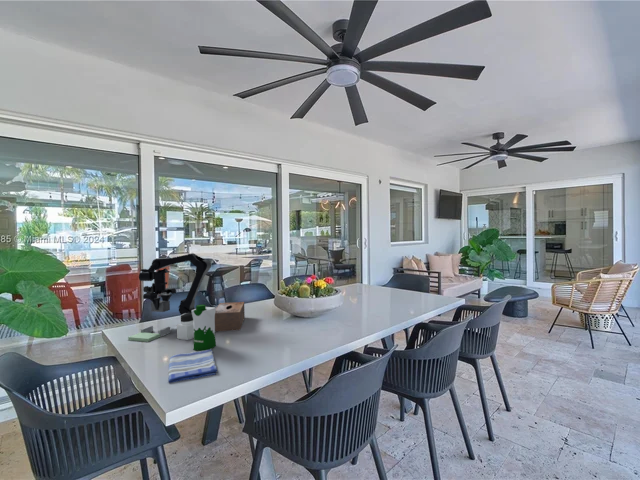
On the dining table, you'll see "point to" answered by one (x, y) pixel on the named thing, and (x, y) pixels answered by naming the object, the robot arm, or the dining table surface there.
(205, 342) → the milk carton
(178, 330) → the medicine bottle
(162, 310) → the gray cuboid pillar
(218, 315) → the tissue box cover
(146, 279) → the robot arm
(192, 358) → the dish towel
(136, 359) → the dining table surface
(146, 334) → the deck
